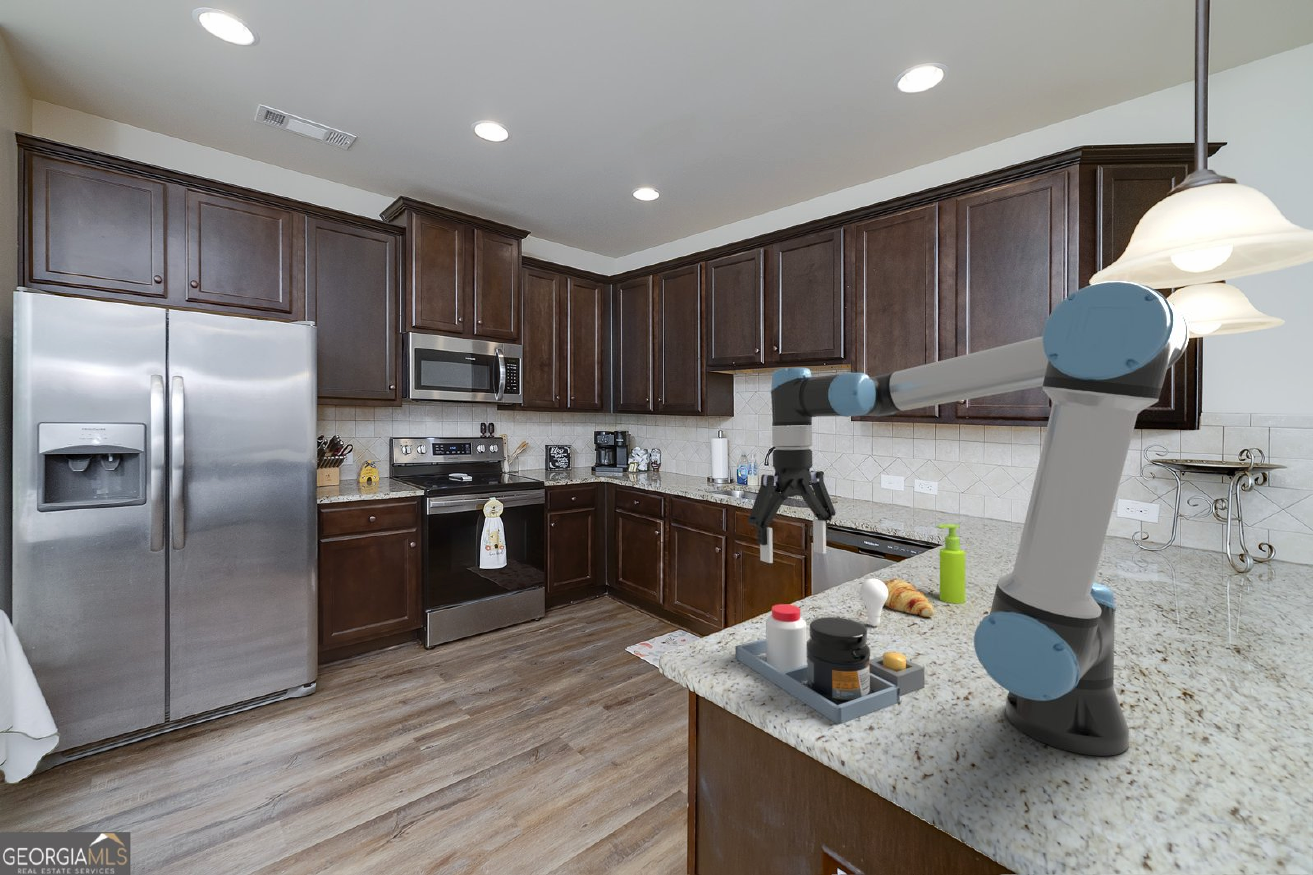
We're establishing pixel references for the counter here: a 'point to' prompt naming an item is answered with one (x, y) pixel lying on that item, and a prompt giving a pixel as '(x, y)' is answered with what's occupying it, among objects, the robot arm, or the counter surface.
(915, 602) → the croissant
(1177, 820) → the counter surface
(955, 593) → the soap dispenser
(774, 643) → the pill bottle
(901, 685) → the grey egg holder
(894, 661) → the button
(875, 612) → the lightbulb
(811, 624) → the supplement container
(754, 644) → the frame
